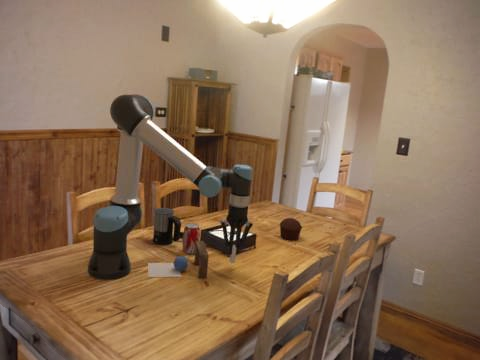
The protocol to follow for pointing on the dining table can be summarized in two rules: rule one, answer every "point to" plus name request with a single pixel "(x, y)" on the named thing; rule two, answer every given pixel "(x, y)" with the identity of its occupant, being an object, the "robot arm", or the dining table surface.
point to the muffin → (290, 229)
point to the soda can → (190, 237)
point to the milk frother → (166, 227)
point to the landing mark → (162, 270)
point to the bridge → (201, 259)
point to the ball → (180, 263)
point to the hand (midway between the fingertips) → (232, 261)
